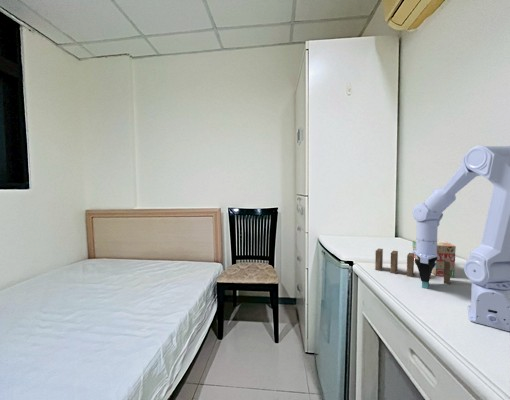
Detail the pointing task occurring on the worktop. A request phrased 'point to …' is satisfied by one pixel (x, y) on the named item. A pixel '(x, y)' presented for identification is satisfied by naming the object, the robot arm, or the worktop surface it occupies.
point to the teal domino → (425, 285)
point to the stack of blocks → (442, 257)
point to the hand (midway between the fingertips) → (425, 279)
